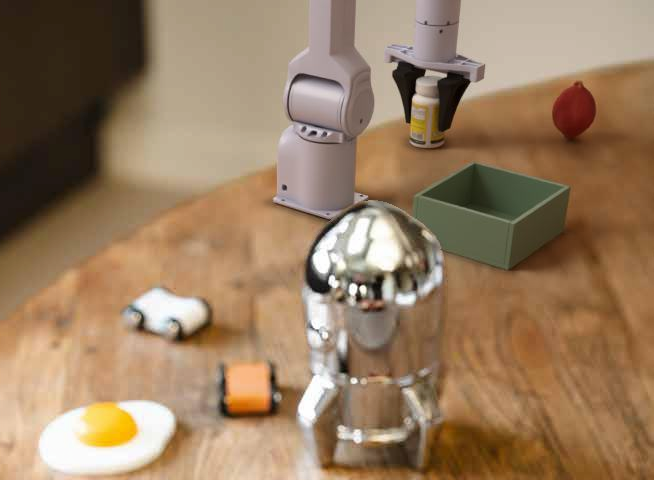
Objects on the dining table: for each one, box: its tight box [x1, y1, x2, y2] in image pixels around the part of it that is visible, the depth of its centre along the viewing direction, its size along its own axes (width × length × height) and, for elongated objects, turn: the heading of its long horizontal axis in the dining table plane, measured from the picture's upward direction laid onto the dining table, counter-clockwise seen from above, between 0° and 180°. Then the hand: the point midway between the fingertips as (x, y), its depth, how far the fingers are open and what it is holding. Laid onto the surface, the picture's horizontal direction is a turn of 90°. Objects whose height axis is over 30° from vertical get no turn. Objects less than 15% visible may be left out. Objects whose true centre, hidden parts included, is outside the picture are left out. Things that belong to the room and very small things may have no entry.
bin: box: [411, 160, 572, 271], centre depth 142 cm, size 13×13×6 cm
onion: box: [551, 79, 597, 140], centre depth 164 cm, size 6×6×8 cm
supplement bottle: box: [409, 75, 446, 149], centre depth 164 cm, size 5×5×8 cm
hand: (428, 125), depth 165 cm, fingers closed on supplement bottle, 5 cm apart
